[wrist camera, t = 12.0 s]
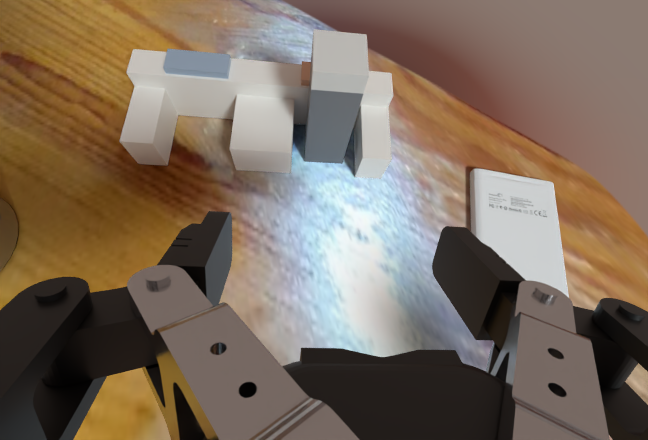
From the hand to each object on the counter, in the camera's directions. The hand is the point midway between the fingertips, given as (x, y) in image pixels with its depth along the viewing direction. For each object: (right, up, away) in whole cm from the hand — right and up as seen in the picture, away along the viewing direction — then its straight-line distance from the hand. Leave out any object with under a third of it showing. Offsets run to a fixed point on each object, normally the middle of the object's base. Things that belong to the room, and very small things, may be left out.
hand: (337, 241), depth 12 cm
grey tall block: (-1, +8, +19) cm, 21 cm away
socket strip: (-6, +9, +19) cm, 22 cm away
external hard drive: (+17, -1, +19) cm, 25 cm away
